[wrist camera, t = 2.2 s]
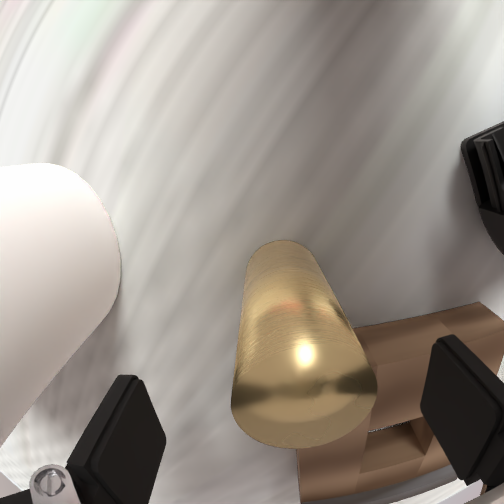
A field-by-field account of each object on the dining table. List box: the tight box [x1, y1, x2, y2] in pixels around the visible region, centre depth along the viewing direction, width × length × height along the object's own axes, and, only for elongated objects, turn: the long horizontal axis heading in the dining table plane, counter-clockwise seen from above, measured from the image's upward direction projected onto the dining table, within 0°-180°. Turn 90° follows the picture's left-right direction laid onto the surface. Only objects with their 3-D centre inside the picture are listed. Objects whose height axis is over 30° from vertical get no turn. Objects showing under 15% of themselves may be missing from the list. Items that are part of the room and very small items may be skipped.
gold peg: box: [231, 240, 378, 449], centre depth 12 cm, size 4×4×10 cm
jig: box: [297, 302, 504, 504], centre depth 18 cm, size 16×14×5 cm
